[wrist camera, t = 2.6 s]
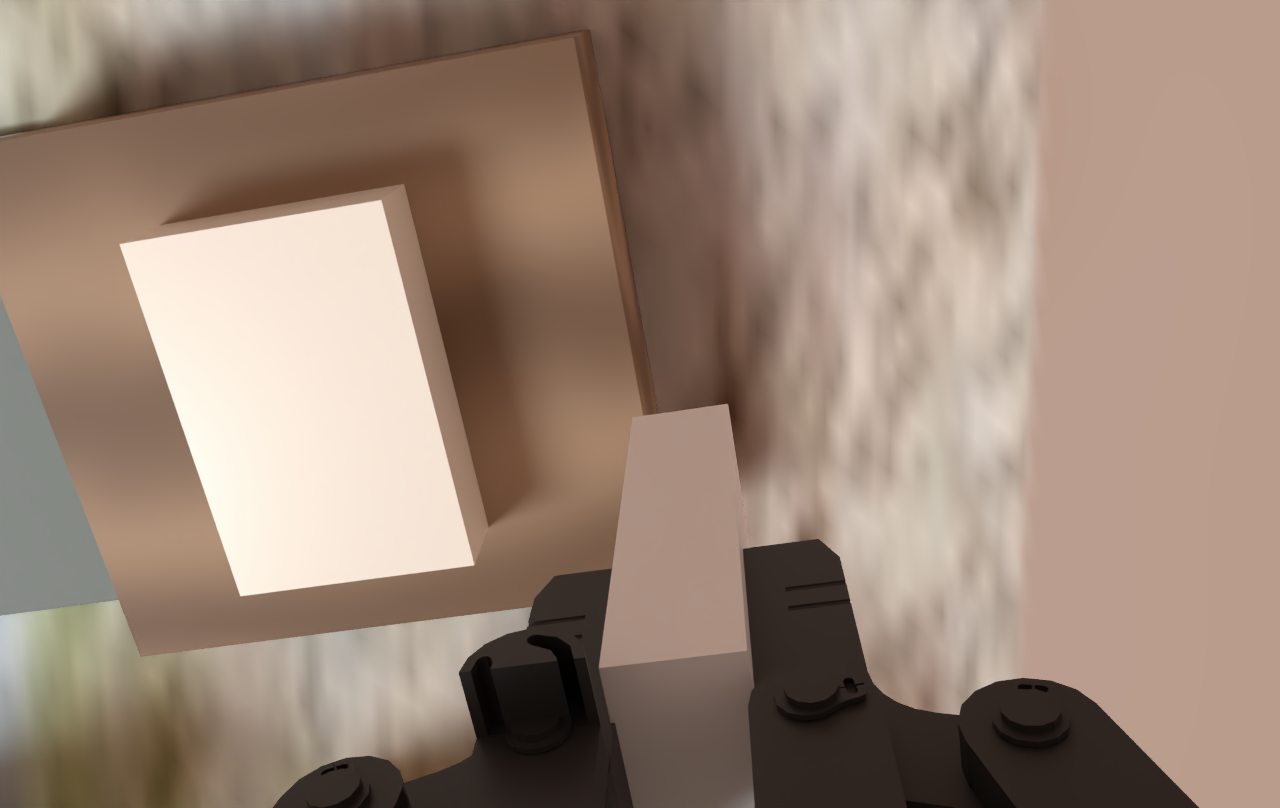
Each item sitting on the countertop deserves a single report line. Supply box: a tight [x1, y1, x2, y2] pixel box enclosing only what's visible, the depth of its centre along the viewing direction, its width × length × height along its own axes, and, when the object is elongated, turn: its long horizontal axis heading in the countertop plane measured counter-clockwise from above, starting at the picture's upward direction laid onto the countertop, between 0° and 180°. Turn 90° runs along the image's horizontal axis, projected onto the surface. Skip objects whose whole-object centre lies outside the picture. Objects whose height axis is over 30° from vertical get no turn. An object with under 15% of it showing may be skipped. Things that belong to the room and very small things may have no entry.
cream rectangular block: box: [119, 184, 489, 596], centre depth 26 cm, size 9×6×2 cm, turn 10°
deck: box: [0, 30, 658, 656], centre depth 29 cm, size 14×15×4 cm
